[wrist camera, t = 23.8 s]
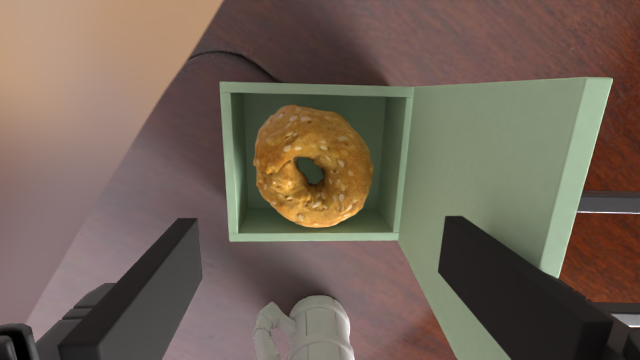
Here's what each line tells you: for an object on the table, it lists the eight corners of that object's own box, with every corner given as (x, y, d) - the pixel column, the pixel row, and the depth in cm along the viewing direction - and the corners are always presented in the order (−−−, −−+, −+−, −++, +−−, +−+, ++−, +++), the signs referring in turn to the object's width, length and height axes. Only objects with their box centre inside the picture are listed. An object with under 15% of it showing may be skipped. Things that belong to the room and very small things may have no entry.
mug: (327, 351, 40) (339, 457, 28) (245, 316, 38) (221, 415, 26) (359, 308, 38) (385, 400, 27) (275, 267, 36) (264, 350, 24)
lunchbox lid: (495, 436, 12) (740, 442, 12) (585, 76, 8) (939, 86, 8) (397, 242, 28) (505, 245, 28) (414, 86, 24) (537, 89, 24)
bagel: (328, 77, 25) (346, 82, 21) (377, 181, 30) (400, 202, 26) (224, 137, 25) (221, 154, 21) (290, 232, 30) (297, 261, 26)
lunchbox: (242, 212, 34) (229, 241, 27) (236, 83, 30) (219, 81, 24) (381, 212, 35) (400, 240, 28) (392, 87, 31) (416, 87, 25)
